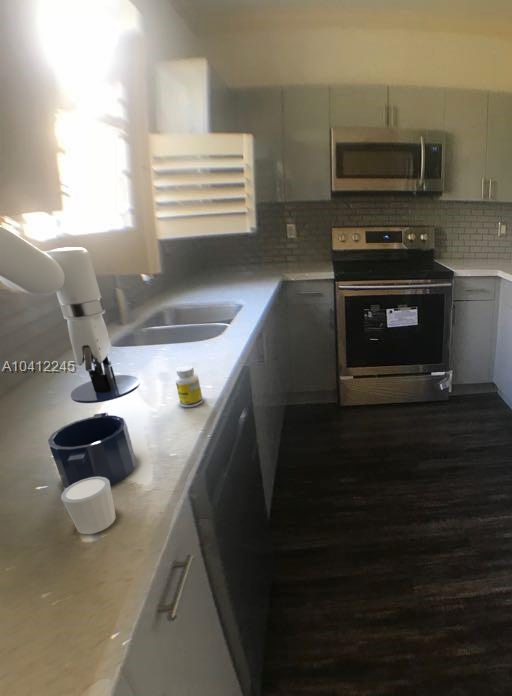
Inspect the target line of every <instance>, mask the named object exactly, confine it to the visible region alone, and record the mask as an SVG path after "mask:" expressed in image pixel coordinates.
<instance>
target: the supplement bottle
mask: <svg viewBox="0 0 512 696" xmlns="http://www.w3.org/2000/svg"><path fill="white" fill-rule="evenodd" d="M175 370H176V375H177V376H176V378H175V386H176V390H177V394H178V399H179V404H180V406H181V407H184V408H194V407H197V406H199V405H200V404H202V402H203V401H204V400H203V394H202V389H201V385H200V379H199V375H197V373H195V369H194V366H192V365H182V366H179V367H177V368H176V369H175Z"/></svg>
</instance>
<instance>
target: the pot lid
mask: <svg viewBox="0 0 512 696" xmlns="http://www.w3.org/2000/svg"><path fill="white" fill-rule="evenodd" d="M95 366H98V367H99V365H95ZM103 366H104V370H105V374H106V373H107V375H108V378H109V382H110V385H111V390H110V391H105V392H97V393H96V392H95V391H94V387H93V384H92V381H91V380H90V381H87V382H84V383H82V384H80V385H78V386H77V387H75V388H74V389H73V390H72V391H71V393H70V398H71V400H72V401H73V402H75V403H79V404H96V403H104V402H109V401H113V400H116V399H119V398H122V397H124V396H127V395H130V394H131V393H132V392H135V391H136V390H137V389H138V388H139V387H140V384H141V381H140V379H139V378H138V377H136V376H134V375H128V374H121V375H120V374H119V375H114V376H115V379H116V382H115V383H114V380H113V377H112V373H111V369H110V366H109V364H103Z"/></svg>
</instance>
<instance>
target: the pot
mask: <svg viewBox="0 0 512 696" xmlns="http://www.w3.org/2000/svg"><path fill="white" fill-rule="evenodd" d="M47 441H48V442H47V443H48V446H49V449H50V452H51V455H52V457H53V461H54V464H55V466H56V469H57V472H58V474H59V477H60V481H61V483H62V486H63V488H64V490H65V489H66V488H68V487H69V486H71V485H72V484H74V483H76V482H78V481H80V480H83V479H87V478H90V477H105V478H107V479H108V480H109V482H110V487H113V486H115V485H117V484H119V483H120V482H122V481H125V479H127V478H128V477H130V476H131V475H132V474H133V472H134V471H135V469H136V467H137V458H136V455H135V451H134V447H133V443H132V440H131V436H130V432H129V429H128V426H127V422H126V421H125V419H124V418H123V417H121V416H118V415H112V414H111V415H109V414H108V412H101V413H95V414H93V416H88V417H87V418H82V419H79V420H76V421H73V422H71V423H68V424H66V425H64V426H61V427H60V428H58V429H57V430H56V431H54V432H53V433H51V435H50V436H49V438H48V439H47Z"/></svg>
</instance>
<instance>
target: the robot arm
mask: <svg viewBox="0 0 512 696" xmlns="http://www.w3.org/2000/svg"><path fill="white" fill-rule="evenodd" d="M0 282H1V283H2V284H3V285H5V286H6V287H7V288H10V289H12V290H15V291H18V292H20V293H21V292H22V293H25V294H30V295H32V296H37V297H48V296H51V295H55V294H56V296H57V300H58V303H59V306H60V310H61V313H62V315H63V319H64V320H67V322H66V323H67V330H68V334H69V340H70V344H71V349H72V351H73V356H74V359H75V363H76V365H78V366H82V365H83V364H84V367H85V371H86V372H87V373H88V375H89V377H90V381H92V384H93V387H94V391H95V392H96V393H97V392H105V391H110V390H111V385H110V382H109V378H108V375H107V373H106V374H105V370H104V366H103V364H109V366H110V369H111V373H112V377H113V380H114V383H115V382H116V379H115V376H116V375H115V372H114V368H113V366H112V360H111V358H110V355H109V353H110V352H111V350H112V343H111V338H110V336H109V332H108V329H107V325H106V322H105V320H104V317H103V315H104V314H105V313H106V310H105V306H104V303H103V298H102V295H101V291H100V288H99V287H100V286H99V284H98V279H97V277H96V273H95V270H94V264H93V261H92V258H91V255H90V252H89V251H88V249H86V248H84V247H80V246H79V247H77V246H72V247H60V248H59V247H58V248H54V249H51V250H46V251H43V250H41V249H39V247H36V246H35V245H34V244H32V243H31V242H28V241H27V240H26V239H24V238H22V237H21V236H19V235H18V234H16V233H14V232H12V231H11V230H10V229H7V228H6V227H4V226H2V225H0ZM96 365H99V367H98V366H96Z"/></svg>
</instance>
